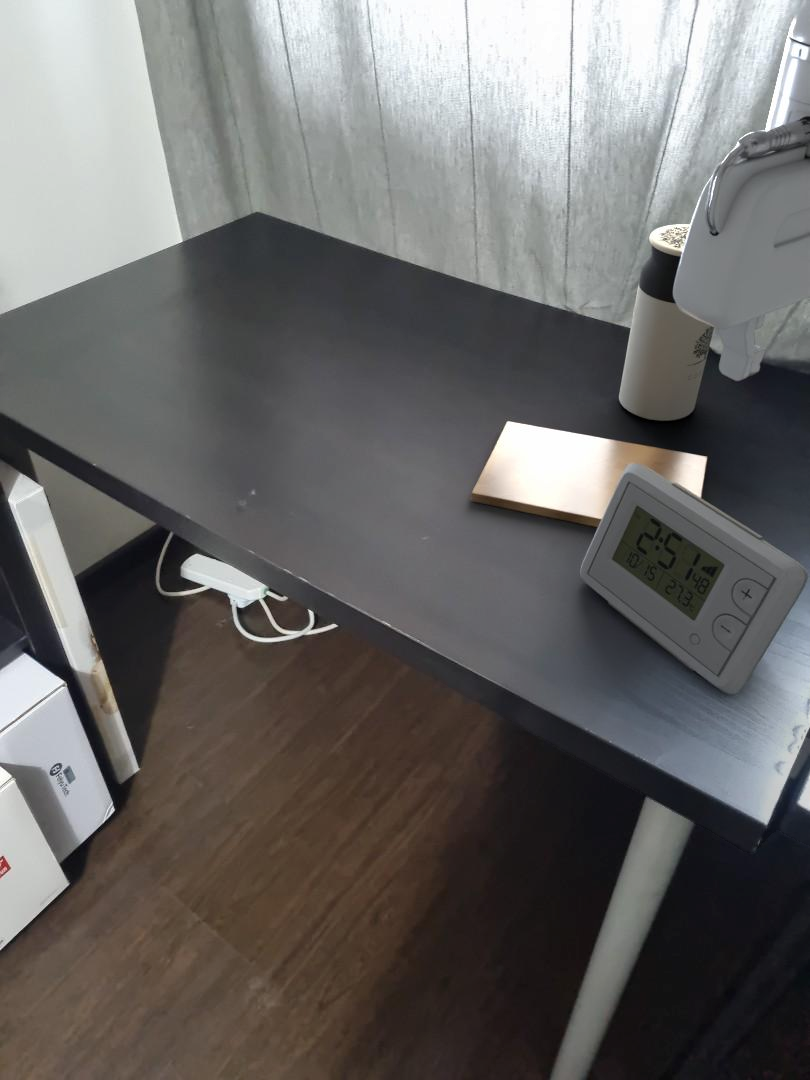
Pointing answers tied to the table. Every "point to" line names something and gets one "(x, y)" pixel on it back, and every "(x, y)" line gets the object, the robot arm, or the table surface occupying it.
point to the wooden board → (571, 472)
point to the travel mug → (663, 338)
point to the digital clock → (691, 577)
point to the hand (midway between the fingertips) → (789, 352)
